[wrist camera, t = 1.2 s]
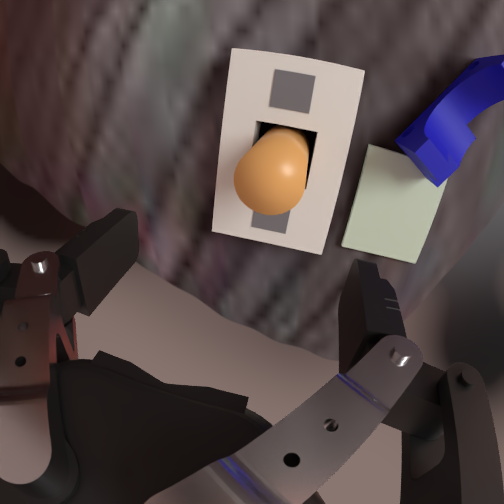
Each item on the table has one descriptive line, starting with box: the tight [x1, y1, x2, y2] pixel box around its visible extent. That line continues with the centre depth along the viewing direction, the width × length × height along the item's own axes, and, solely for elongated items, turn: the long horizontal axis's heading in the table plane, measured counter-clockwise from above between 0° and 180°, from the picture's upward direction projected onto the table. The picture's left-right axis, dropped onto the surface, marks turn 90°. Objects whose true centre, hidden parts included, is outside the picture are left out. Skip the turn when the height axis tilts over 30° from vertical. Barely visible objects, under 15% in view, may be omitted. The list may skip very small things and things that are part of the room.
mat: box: [341, 144, 448, 263], centre depth 27 cm, size 10×8×1 cm
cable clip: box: [394, 55, 504, 188], centre depth 19 cm, size 12×4×6 cm, turn 140°
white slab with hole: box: [212, 48, 365, 255], centre depth 25 cm, size 16×10×3 cm, turn 172°
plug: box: [234, 125, 309, 215], centre depth 22 cm, size 4×4×10 cm
